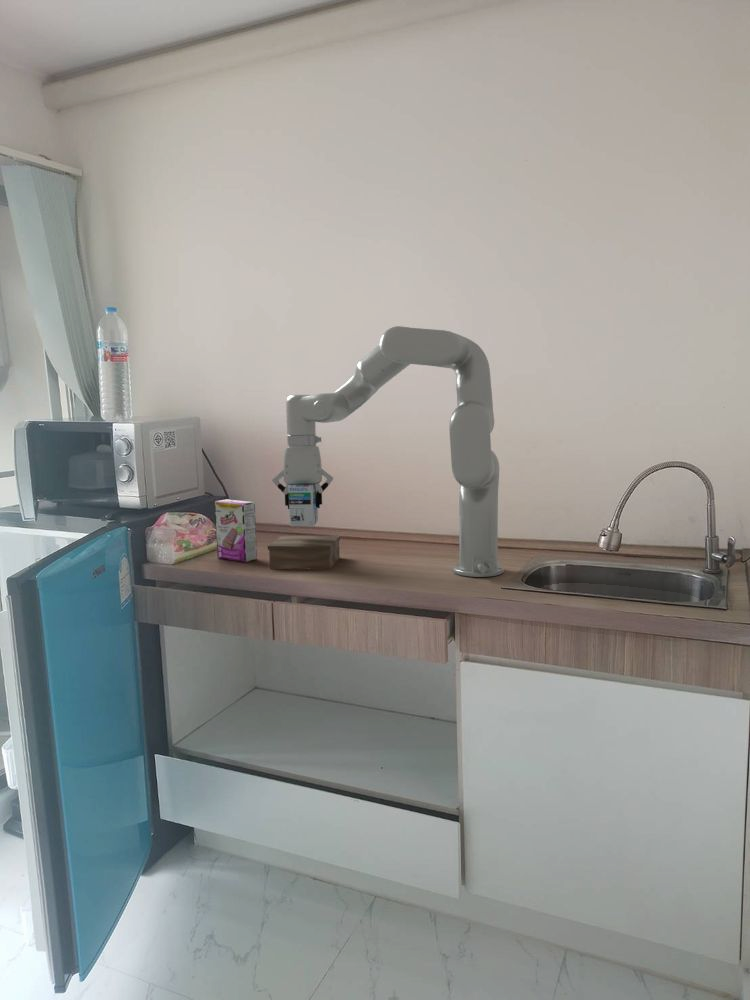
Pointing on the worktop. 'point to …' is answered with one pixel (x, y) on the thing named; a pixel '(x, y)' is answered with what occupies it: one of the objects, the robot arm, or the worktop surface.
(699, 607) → the worktop surface
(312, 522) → the light bulb box
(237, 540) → the candy bar box
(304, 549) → the walnut box
